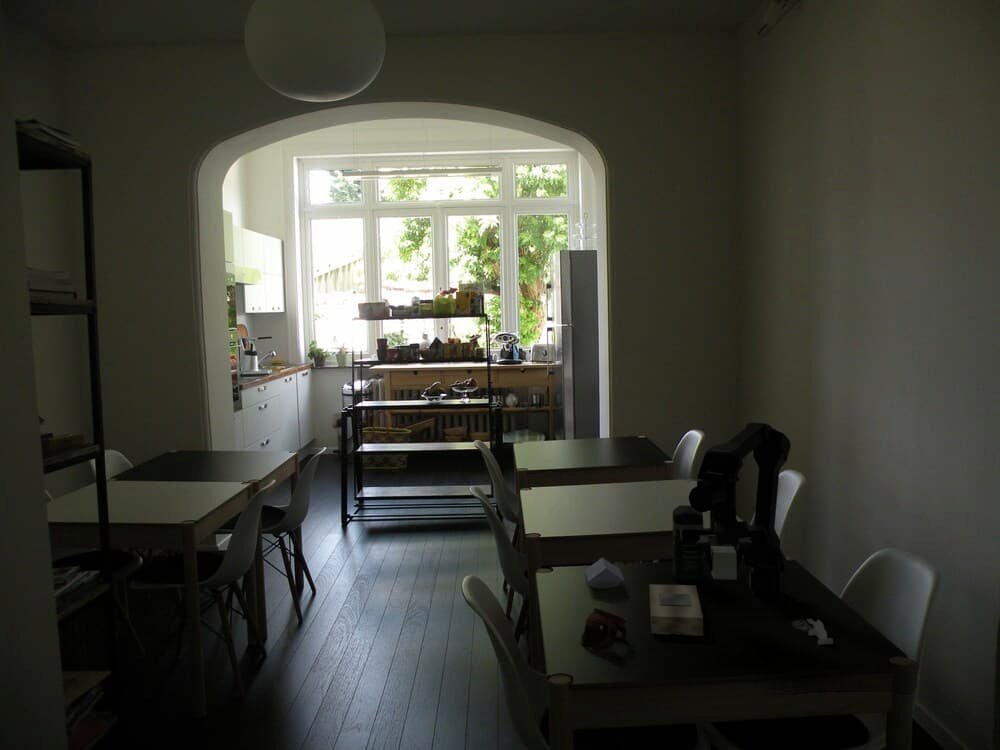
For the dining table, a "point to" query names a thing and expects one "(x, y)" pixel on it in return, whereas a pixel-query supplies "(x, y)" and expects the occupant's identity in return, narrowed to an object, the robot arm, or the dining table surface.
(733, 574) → the sage block
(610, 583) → the wedge on round base
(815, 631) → the grey curved piece
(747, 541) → the robot arm
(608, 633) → the pottery mug
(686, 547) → the coffee jar
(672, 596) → the birch base
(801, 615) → the dining table surface
